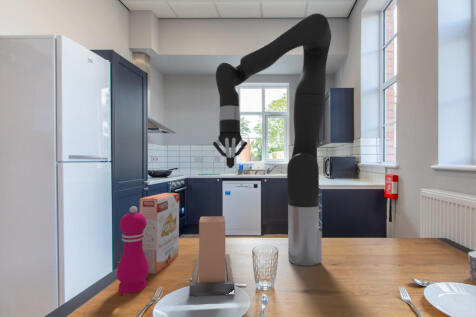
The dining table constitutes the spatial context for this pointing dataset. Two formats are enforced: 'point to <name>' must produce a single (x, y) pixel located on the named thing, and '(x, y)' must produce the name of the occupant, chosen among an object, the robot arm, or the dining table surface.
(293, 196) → the robot arm
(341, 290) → the dining table surface
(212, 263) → the block
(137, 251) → the pepper mill
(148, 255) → the cracker box
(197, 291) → the chute
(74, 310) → the dining table surface
